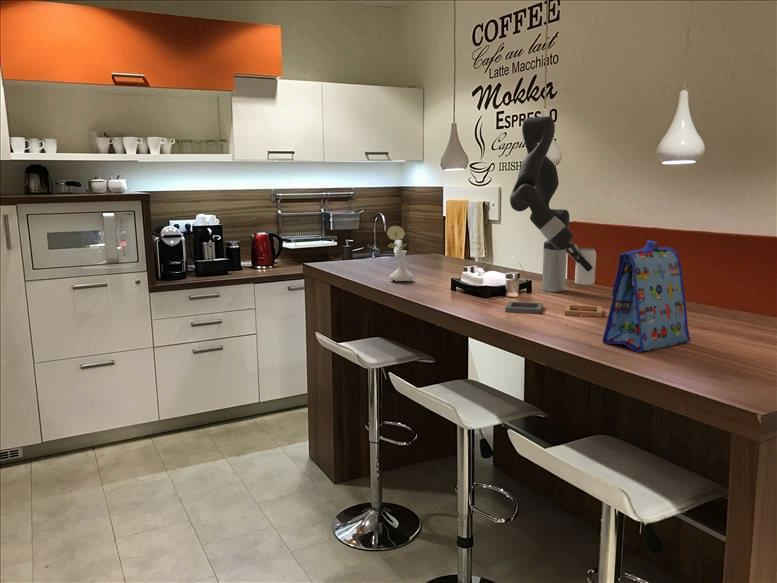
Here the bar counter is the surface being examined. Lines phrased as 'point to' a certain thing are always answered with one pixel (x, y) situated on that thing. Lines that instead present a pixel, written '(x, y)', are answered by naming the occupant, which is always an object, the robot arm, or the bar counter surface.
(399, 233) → the flower in vase
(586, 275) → the can
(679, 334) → the lunch bag
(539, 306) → the grey socket
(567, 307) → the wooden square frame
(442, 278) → the bar counter surface
